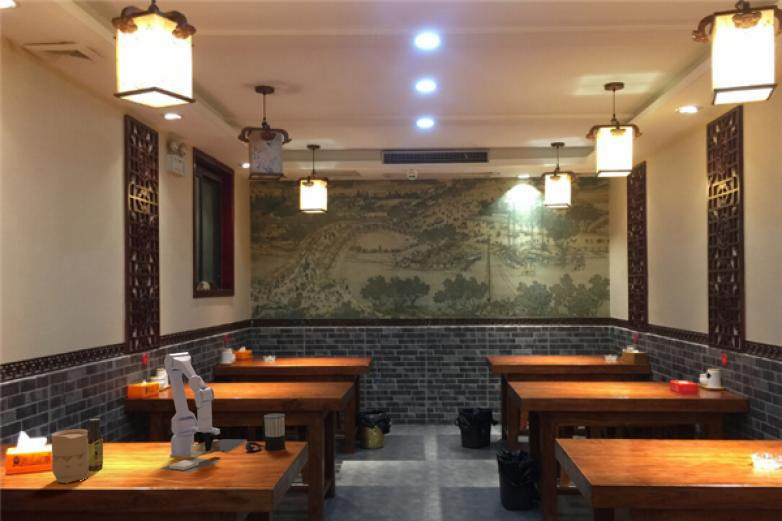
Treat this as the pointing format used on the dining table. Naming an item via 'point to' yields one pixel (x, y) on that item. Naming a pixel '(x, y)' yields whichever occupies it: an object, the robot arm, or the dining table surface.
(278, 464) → the dining table surface
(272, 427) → the milk frother
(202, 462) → the slate mat
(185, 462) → the tile
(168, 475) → the dining table surface
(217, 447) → the long wooden beam
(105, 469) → the dining table surface
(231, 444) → the notebook
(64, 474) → the container
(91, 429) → the sauce bottle
